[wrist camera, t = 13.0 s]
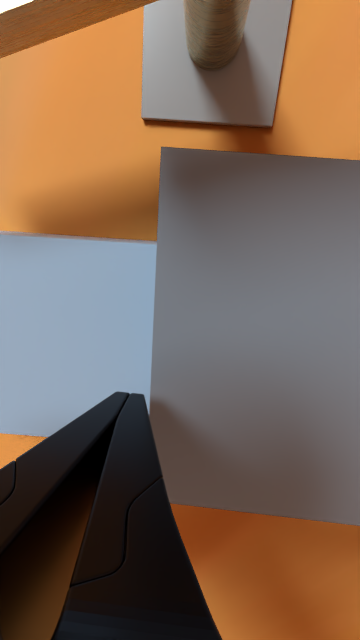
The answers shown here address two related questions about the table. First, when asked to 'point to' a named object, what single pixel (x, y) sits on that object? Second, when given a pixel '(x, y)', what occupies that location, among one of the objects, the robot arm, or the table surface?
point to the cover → (72, 326)
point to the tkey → (103, 3)
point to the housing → (251, 292)
